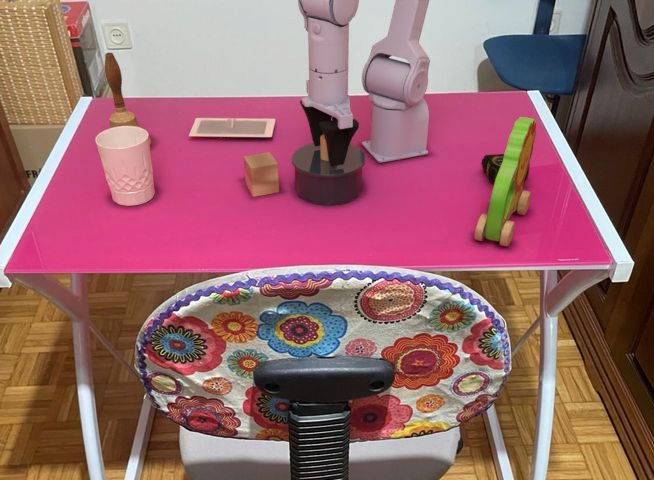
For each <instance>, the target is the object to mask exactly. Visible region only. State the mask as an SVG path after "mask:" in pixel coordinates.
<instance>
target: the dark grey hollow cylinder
mask: <svg viewBox="0 0 654 480" xmlns="http://www.w3.org/2000/svg"><path fill="white" fill-rule="evenodd" d="M294 179H295V180H294V181H295V192H296V194H297V196H298V197H299V198H301V199H302V201H305V202H307V203H310V204H314V205H319V206H339V205H344V204H347V203H350V202H352V201H354V200H356V199H357V198H358V197H359V196H360V195H361V193H362V189H363V188H362V187H363V186H362V185H363V167H362V168H361V169H360V170H359V171H357V172H355V173H353V174H350V175H347V176H343V177H335V178H321V177H314V176H310V175H307V174H304V173H302V172H300V171H298V170H297V169H296V168H295V167H294Z"/></svg>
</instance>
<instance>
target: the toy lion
mask: <svg viewBox="0 0 654 480" xmlns="http://www.w3.org/2000/svg"><path fill="white" fill-rule="evenodd" d="M536 128H537V121H536V120H535V118H530V117H526V116H519V117H518V119H516V120H515V121H514V123H513V126H512V129H511V132H510V134H509V136H508V140H507V144H506V148H505V150H504V153H503V154H504V158H503V162H502V164H501V167H500V169H499V171H498V174H497V177H496V180H495V183H494V182H493V183H494V184H493V187H492V192H491V194H490V199H489V205H488V210H487V214H485V213H482V214H480V216H479V218H478V219H477V222H476V225H475V230H474V237H473V238H474V240H475V241H479V242H483V241H484V239H486V240H489V241H494V242H499V246H501V247H502V246H503V247H506V248H507V247H509V245H510V244H511V242H512V240H513V237H514V233H515V229H516V228H515V227H516V225H515V224H516V223H515V221H512V220H510V218H511V217H512V215H513V214H514V213H516V214H517V215H520V216H525V215H526V214H527V212H528V209H529V207H530V204H531V198H532V192H531V191H529V190H525V189H524V190H523V187H524V183H525V182H524V179H525V175H526V173H527V170H528V167H529V163H530V162H531V159H532V155H533V151H534V145H535V140H536V134H537V129H536ZM530 164H531V163H530ZM529 168H530V167H529Z"/></svg>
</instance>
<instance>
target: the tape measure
mask: <svg viewBox="0 0 654 480" xmlns="http://www.w3.org/2000/svg"><path fill="white" fill-rule="evenodd" d="M503 158H504V153H495V154H486V155H484V156H483V157H482V158H481V163H480V165H481V167H482V172H483V173H484V174H486V177H487V179H488V180H489V181H490V182H491V183H495V180H496V177H497V174H498V171H499V169H500V167H501V164H502V162H503ZM530 164H531V163H529V167H528V170H527V173H526V175H525V179H524V183H525V182H526V181H527V179H528V177H529V174H530V166H531V165H530Z"/></svg>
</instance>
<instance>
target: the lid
mask: <svg viewBox="0 0 654 480" xmlns="http://www.w3.org/2000/svg"><path fill="white" fill-rule="evenodd" d="M366 160H367V159H366V155H365V153H364V151H363V150H362V149H361V148H359V147H357V146H355V145H353V144H351V143H350V144H349V148H348V151H347V155H346V158H345V162H344V164H343V165H337V166H331V165H330V163H329V159H328V152H327V144H326V140H325V137H324V134H323V135H321V137H320V146H315V145H314V143H313V142H311V143H308V144H305V145H303V146H301V147H298V148H297V149H295V151H294V152H293V153H292V156H291V163H292V166H293V167H294V169H295V168H296V169H297V170H298V171H300V172H302V173H304V174H307V175H310V176H314V177H321V178H335V177H343V176H347V175H350V174H353V173H355V172H357V171H359V170H360V169H361V168H362V169H363V168H364V166H365V164H366Z"/></svg>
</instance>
